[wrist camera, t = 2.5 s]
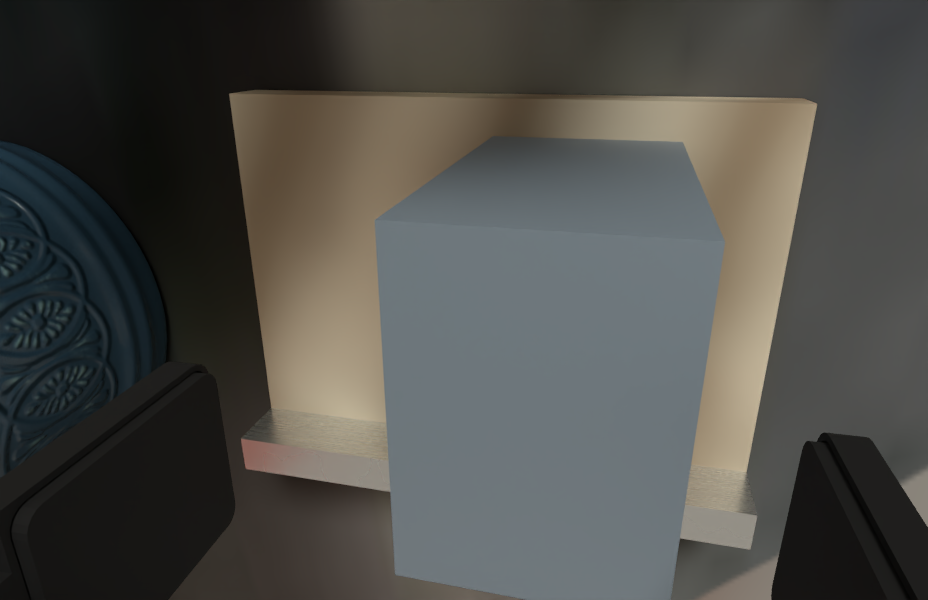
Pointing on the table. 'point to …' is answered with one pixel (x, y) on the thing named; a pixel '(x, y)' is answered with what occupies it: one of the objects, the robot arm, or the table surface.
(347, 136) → the shelf board
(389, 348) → the carton
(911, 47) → the table surface
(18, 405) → the canister
